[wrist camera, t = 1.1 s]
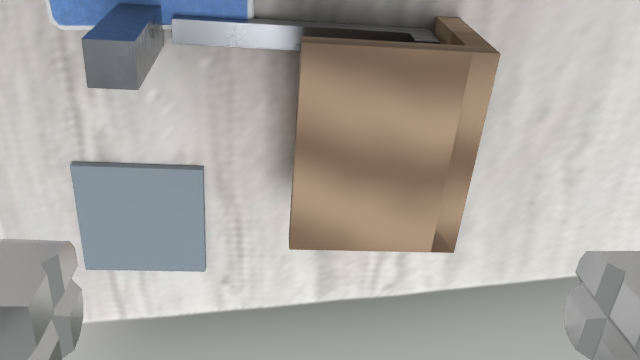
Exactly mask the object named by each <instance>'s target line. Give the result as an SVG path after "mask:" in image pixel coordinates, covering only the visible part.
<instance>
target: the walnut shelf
mask: <svg viewBox="0 0 640 360" xmlns="http://www.w3.org/2000/svg"><path fill="white" fill-rule="evenodd" d="M434 36H435V37H436V38H437V39H438V40H439V41H440V44H428V43H411V42H394V41H376V40H359V39H341V38H324V37H307V36H301V50H300V67H299V83H298V99H297V115H296V131H295V147H294V163H293V179H292V195H291V212H290V228H289V249H298V250H347V251H396V252H445V253H454V249H455V245H456V241H457V237H458V232H459V228H460V224H461V219H462V215H463V211H464V207H465V202H466V198H467V194H468V190H469V185H470V181H471V177H472V173H473V168H474V164H475V160H476V156H477V151H478V147H479V143H480V139H481V134H482V130H483V126H484V122H485V117H486V113H487V109H488V105H489V100H490V96H491V92H492V88H493V83H494V79H495V75H496V71H497V66H498V62H499V58H500V53H499V52H498V51H497V50H496V49H494V48H493V47H492V46H491V45H490V44H489V43H488V42H486V41H485V40H484V39H483V38H482V37H481V36H480V35H478V34H477V33H476V32H475V31H474V30H473V29H472V28H470V27H469V26H468V25H467V24H466V23H465V22H464V21H462V20H461V19H460V18H454V17H438V16H437V18H436V24H435V30H434Z"/></svg>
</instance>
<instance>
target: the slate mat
mask: <svg viewBox="0 0 640 360" xmlns="http://www.w3.org/2000/svg"><path fill="white" fill-rule="evenodd" d="M70 169H71V175H72V182H73V188H74V195H75V202H76V208H77V215H78V221H79V228H80V235H81V241H82V248H83V254H84V261H85V268H86V270H140V271H201V272H205V270H206V246H205V204H204V166H183V165H153V164H124V163H95V162H72V164H71V165H70Z"/></svg>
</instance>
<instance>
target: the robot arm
mask: <svg viewBox="0 0 640 360" xmlns="http://www.w3.org/2000/svg"><path fill="white" fill-rule="evenodd" d="M77 266H78V262H77V257H76V251H75V247H74V246H73V244H72V243H71V242H70V241H48V240H21V239H1V240H0V360H62V358H64V357H65V356H66V355H68V354H69V353H71V352H72V351H74V349H75V346H76V344H77V341H78V339H79V336H80V332H81V326H82V321H83V296H82V289H81V288H80V287H79V286H78V285H77V284H76V283H75V282H74V281H73V280H72V277H73V274H74V272H75V270H76V268H77ZM576 274H577V276H578V278H579V280H580V282H581V283H580V284H579V285H578V286H576V287H575V288H574V289H573V290H572V291H571V292H570V293H569V294H568V296H567V300H566V304H565V307H564V326H565V329H566V332H567V335H568V338H569V340H570V341H571V343H572V345H573V346H574V348H575V349H576V350H577V351H578V352H580V353H581V354H583V355H584V356H586V357H587V358H589V359H591V360H640V251H586V253H585V254H584V255H583V256H582V257H581V259H580V261H579V263H578V266H577V269H576Z"/></svg>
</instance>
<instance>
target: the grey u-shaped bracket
mask: <svg viewBox="0 0 640 360" xmlns="http://www.w3.org/2000/svg"><path fill="white" fill-rule="evenodd" d="M301 36H307V37H324V38H341V39H359V40H376V41H394V42H411V43H428V44H440V41H439V40H438V39H437V38H436V37H435V36H434V35H433V34H432V32H431V31H430V30H429V29H422V28H406V27H389V26H372V25H356V24H339V23H323V22H306V21H289V20H273V19H256V18H253V19H237V18H221V17H205V16H188V15H174V16H173V17H172V40H173V44H188V45H206V46H224V47H242V48H261V49H279V50H297V51H300V50H301ZM82 46H83V54H84V62H85V70H86V78H87V86H88V88H106V89H127V90H139V88H140V86H141V85H142V83H143V81H144V79H145V77H146V76H147V74H148V72H149V70H150V69H151V67H152V65H153V63H154V62H155V60H156V58H157V56H158V55H159V53H160V51H161V49H162V48H163V46H164V36H163V27H162V13H161V5H145V4H129V3H118V4H117V5H116V6H115V7H114V8H113V9H112V10H111V11H110V12H109V13H108V14H107V15H106V16H105V17H104V18H103V19H101V20H100V21H99V22H98V23H97V24H96V25H95V26H94V27H93V28H92V29H91V30H90V31H89V32H88V33H87V34H86V35H85V36H84V37H83V38H82Z"/></svg>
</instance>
